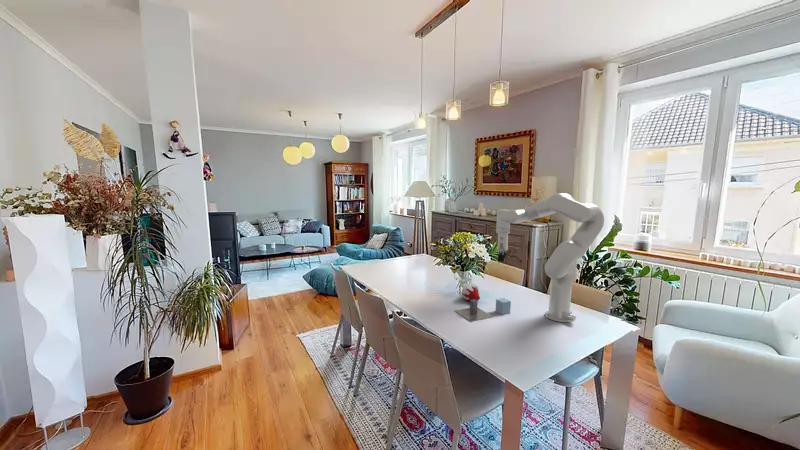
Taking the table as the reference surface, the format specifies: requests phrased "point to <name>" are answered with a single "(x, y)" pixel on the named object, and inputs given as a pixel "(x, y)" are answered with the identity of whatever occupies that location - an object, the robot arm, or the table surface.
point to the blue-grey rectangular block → (503, 306)
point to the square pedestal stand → (473, 312)
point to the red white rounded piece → (470, 292)
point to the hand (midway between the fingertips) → (501, 259)
